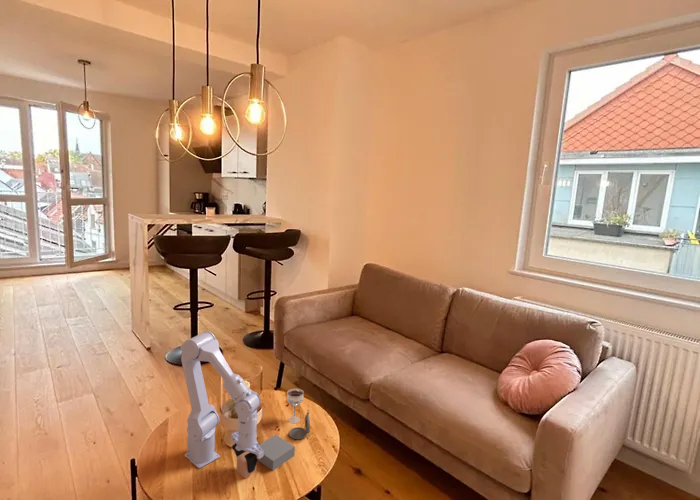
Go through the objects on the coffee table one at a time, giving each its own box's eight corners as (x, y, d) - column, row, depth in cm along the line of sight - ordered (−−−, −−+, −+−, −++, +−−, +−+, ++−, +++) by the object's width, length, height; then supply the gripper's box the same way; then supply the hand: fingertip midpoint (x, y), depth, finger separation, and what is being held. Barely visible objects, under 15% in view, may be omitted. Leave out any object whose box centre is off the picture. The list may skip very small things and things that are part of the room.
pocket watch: (285, 434, 151) (286, 410, 149) (302, 425, 157) (303, 402, 156) (299, 444, 146) (300, 419, 144) (316, 435, 152) (317, 411, 150)
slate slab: (253, 458, 138) (253, 447, 137) (275, 444, 145) (275, 434, 145) (273, 471, 132) (273, 460, 131) (294, 456, 140) (294, 446, 139)
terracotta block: (236, 471, 130) (236, 456, 129) (247, 464, 134) (248, 450, 133) (245, 478, 127) (245, 463, 127) (256, 471, 131) (256, 456, 130)
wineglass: (283, 422, 158) (284, 395, 156) (289, 413, 165) (290, 387, 163) (299, 426, 157) (300, 398, 155) (304, 416, 163) (306, 389, 161)
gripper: (223, 426, 130) (223, 463, 132) (251, 445, 121) (250, 485, 123) (241, 417, 135) (241, 452, 137) (269, 435, 126) (268, 473, 128)
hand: (246, 467), depth 130 cm, fingers closed on terracotta block, 4 cm apart
